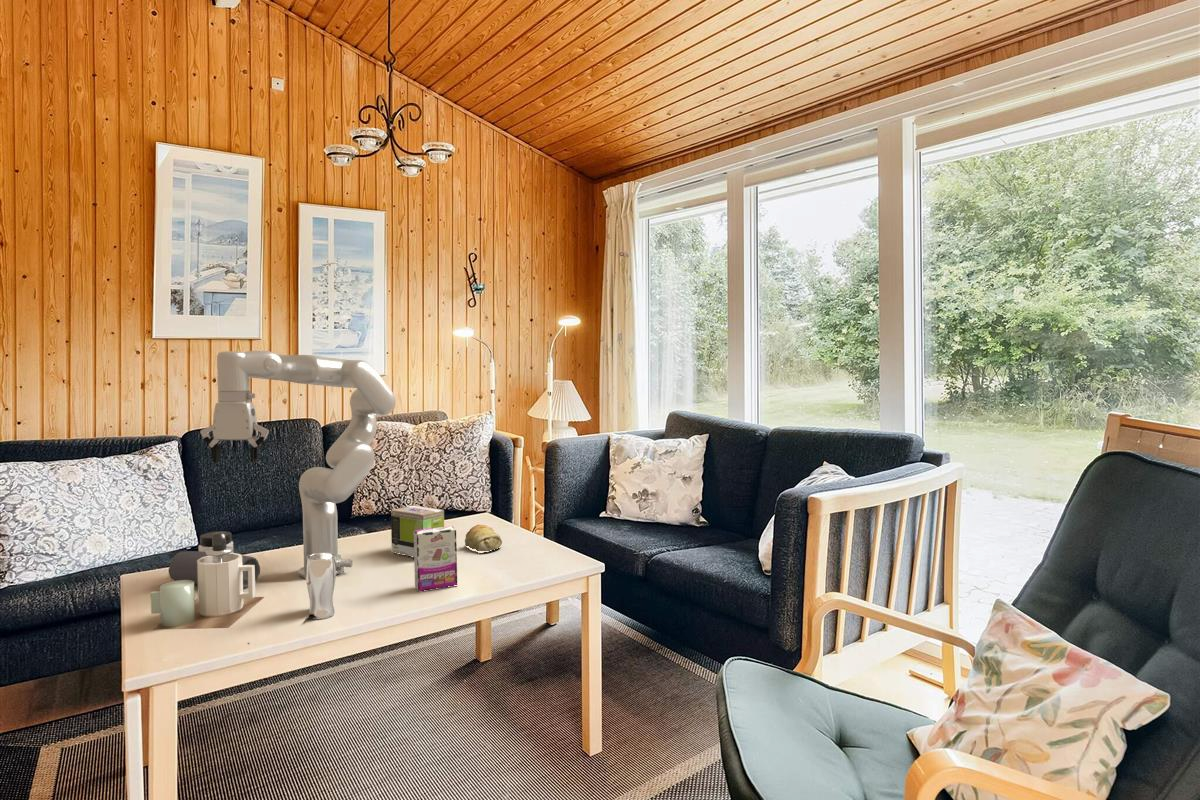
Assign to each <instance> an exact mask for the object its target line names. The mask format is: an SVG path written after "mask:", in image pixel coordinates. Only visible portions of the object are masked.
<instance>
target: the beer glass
mask: <svg viewBox="0 0 1200 800" xmlns="http://www.w3.org/2000/svg"><path fill="white" fill-rule="evenodd" d="M336 576H337V575H336V567H335V557H334V554H333V553H327V552H323V553H315V554H311V555H308V556H307V557H306V578H305V583H306V589H307V592H308V598H309V609H308V613H309V614H308V618H309V619H310V620H324V619H328V618H332V617H333V616H334V615H335V607H334V601H333V600H334V598H333V596H334V590H335V585H336V584H335V583H336Z"/></svg>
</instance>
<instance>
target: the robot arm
mask: <svg viewBox="0 0 1200 800" xmlns="http://www.w3.org/2000/svg"><path fill="white" fill-rule="evenodd" d="M216 366H217V367H216V368H217V369H216V370H217V371H216V372H217V375H216V377H217V402H216V403H215V405H214V410H213V416H212V417H213V420H212V424H210V425H209V426H207V427H205V428H203V429H201V430H200V435H201V436H202V438H203V441H204V442H205V443H206V444H207V445H208V447H210V450H211V451H210V453H211V459H212V463H217V462H221V461H222V448H221V446H220V444H221V442H222V441H247V442H248V443H249V444H250V445H251V447H250V448H249V449H250V450H249V452H250V454H249V455H250V462H251V463H254V462H257V461H259V459H260V446H261V445H262V444H263V443H264V442H265V441H266V440H267V439H266V438H267V437H268V435H269V433H270V429H268V428H266V427H263V426H261V425H259V424H258V420H257V419H258V418H257V414H256V413H257V412H256V407H255V404H254V402H251V401H252V400H251V399H255V398H256V394H255V393H254V392H253V393H252V392H251V389H250V388H251V387H250V379H260V380H263V379H264V380H271V381H272V380H273V381H283V382H289V383H294V384H295V383H296V384H304V385H310V386H313V385H314V386H325V387H335V388H347V389H351V388H352V389H355V390H354V391H353V392H352V394H351V395H350V399H349V406H350V411H351V417H350V422H349V424H348V426H347V427H346V428H345V430H344V431H343V432H342V433H341V434H340V435H339V436H338V438H337V439H336V440H335V441H334V442H333V443H332V445H331V446H330V447H329V449H328V450H327V452H326V455H325V461H326V464H327V465H328V466H329V467H330V468H328V467H322V466H315V467H311V468H308V469H307V470H305V471H304V472H303V473H302V474H301V476H300V478H299V482H298V490H299V496H300V500H301V501H300V502H301V506H302V507H301V509H302V532H303V533H302V535H303V538H302V539H303V541H302V542H303V566H302V567H301V568H299V570H297V571H298V573H297V574H298V577H300V578H304V579H306V557H307V556H308V555H311V554H315V553H323V552H327V553H333V554H334V557H335V567H336V576H337V574H338V575H340V574H341V573H343V571H344V570H345V568H352V567H353V560H351V558H346V559H343V558H342V554H339V541H338V539H339V537H338V536H339V535H338V534H339V533H338V509H337V505H336V504H339V503H342V502H344V501H346V500H347V499H348V498H349V497H350V496H351V495H352V494H353V493H354V492H355V490H356V489H358V487H359V485H360V484H361V483H362V481H364V479H365V478H366V477H367V476H368V475H369V472H371V470H372V468H373V466H374V463H375V456H376V455H375V452H374V449H373V447H372V446H371V445H370V444H371V443H372V442H373V440H375V439H374V438H375V437H376V434H377V431H378V430H377V427H378V425H377V416H379V417H382V416H383V417H385V416H387V415H390V414H391V413H392V412H393V411H394V410H395V408H396V402H397V399H396V396H395V393H394V392H393V390H392V389H391V388H390V386H389V385H388V384H387V383H386V381H384V379H383V377H382V376H381V375H380V374H379V373H378V371H377V370H376V369H375V368H374V367H373V366H372V365H371V364H370V363H369V362H367V361H366V360H361V359H345V358H344V359H341V358H334V357H326V356H319V355H313V354H311V355H310V354H279V353H278V354H277V353H276V352H273V351H269V350H248V351H241V350H240V351H237V350H235V351H234V350H232V351H231V350H227V351H220V352H218V353H217V355H216ZM210 432H212V436H213V437H212V436H210ZM258 432H259V433H260V436H259V437H258V435H259V433H258Z"/></svg>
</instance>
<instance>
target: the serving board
mask: <svg viewBox="0 0 1200 800" xmlns="http://www.w3.org/2000/svg"><path fill="white" fill-rule="evenodd" d="M264 598H265V596H255V597H254V598H247V599H243V608H242V609H241V610H240V611H238V612H235V613H233V614H229V615H225V616H218V617H204V616H201V615H199V609H198V597H197V598H195V621H193V622H192V623H190V624H187V625H184V626H179V627H163V626H161V623H159V624H158V625H156V626H155V627H154V628H152V630H187V629H188V630H193V629H195V630H197V629H198V630H199V629H229V628H230V627H231V626H233V625H234V624H235V623H236V622H237V621H239V620H240V619H241V618H243V616H244V615H246V613H248V612H249V611H250V610H251V609H252V608H254V607H255V606H256V605H257V604H258V603H259V602H261V601H262V600H263V599H264Z"/></svg>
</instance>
